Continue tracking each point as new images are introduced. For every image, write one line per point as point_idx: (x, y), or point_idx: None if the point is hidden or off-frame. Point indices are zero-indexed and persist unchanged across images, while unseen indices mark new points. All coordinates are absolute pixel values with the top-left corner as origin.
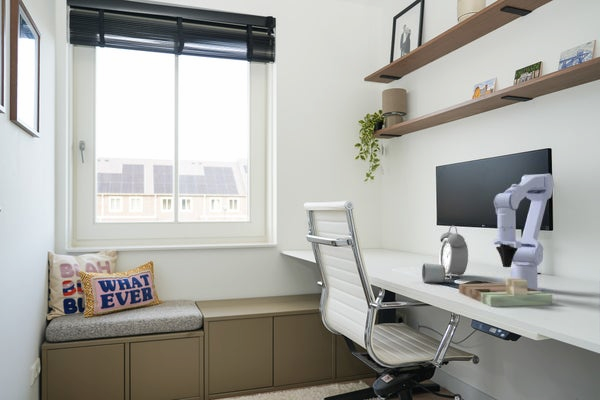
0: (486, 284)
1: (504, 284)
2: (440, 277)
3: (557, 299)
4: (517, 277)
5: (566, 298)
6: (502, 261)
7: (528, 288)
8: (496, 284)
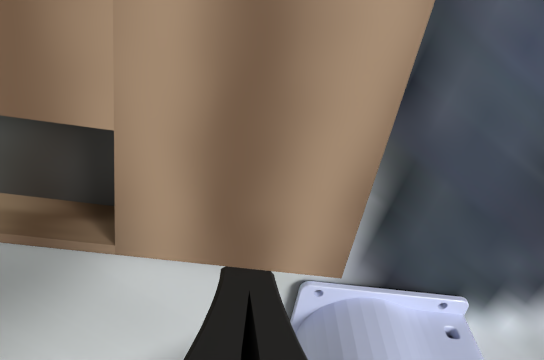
0: (362, 31)
1: (300, 184)
2: None
3: (36, 297)
4: (383, 357)
5: (62, 346)
6: (262, 314)
7: (106, 242)
8: (325, 123)
